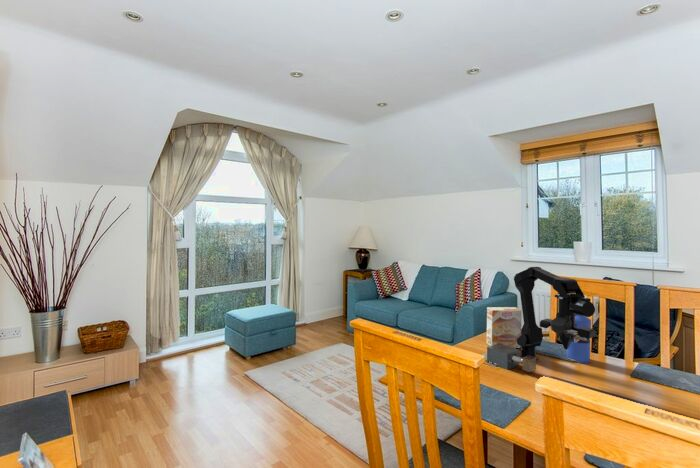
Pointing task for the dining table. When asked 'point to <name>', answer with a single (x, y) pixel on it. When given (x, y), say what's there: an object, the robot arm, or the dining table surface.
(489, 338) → the coffeecake box
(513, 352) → the housing
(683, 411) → the dining table surface
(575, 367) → the dining table surface
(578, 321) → the water bottle
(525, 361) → the shaft
